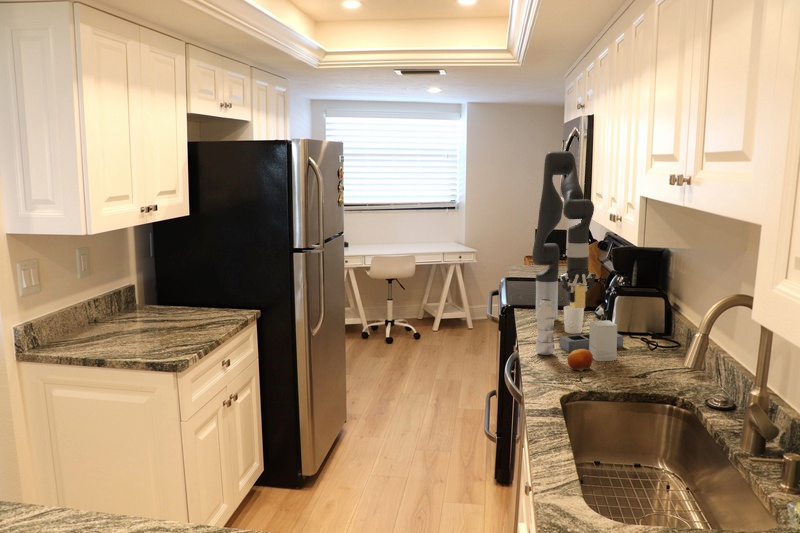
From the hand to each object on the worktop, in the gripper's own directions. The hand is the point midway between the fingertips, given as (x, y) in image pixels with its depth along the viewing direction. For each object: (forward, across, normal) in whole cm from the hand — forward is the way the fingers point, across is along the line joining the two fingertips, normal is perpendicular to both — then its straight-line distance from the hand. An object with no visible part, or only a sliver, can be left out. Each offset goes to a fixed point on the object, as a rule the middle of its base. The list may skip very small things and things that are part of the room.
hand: (577, 301), depth 232 cm
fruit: (+18, +10, +21) cm, 29 cm away
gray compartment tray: (+18, -6, 0) cm, 19 cm away
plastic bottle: (+18, +14, +3) cm, 23 cm away
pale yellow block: (+2, 0, 0) cm, 2 cm away
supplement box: (+18, -3, +13) cm, 22 cm away
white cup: (+18, -10, -21) cm, 29 cm away
